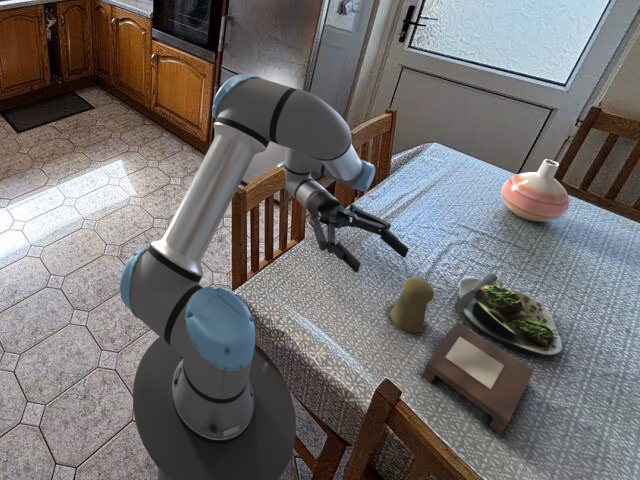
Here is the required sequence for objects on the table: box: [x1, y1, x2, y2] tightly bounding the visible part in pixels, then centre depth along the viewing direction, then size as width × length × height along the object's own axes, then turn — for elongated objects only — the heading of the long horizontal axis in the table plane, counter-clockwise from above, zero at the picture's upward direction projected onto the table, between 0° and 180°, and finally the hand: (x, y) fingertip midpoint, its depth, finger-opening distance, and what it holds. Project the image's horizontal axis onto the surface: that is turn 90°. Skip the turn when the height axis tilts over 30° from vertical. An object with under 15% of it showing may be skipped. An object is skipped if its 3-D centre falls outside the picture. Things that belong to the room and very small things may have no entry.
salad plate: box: [453, 272, 564, 359], centre depth 89 cm, size 19×18×5 cm
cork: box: [389, 276, 435, 334], centre depth 87 cm, size 6×6×11 cm
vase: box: [500, 159, 570, 222], centre depth 114 cm, size 14×14×18 cm
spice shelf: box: [421, 321, 535, 435], centre depth 77 cm, size 12×14×4 cm
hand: (382, 260), depth 93 cm, fingers open, 13 cm apart
